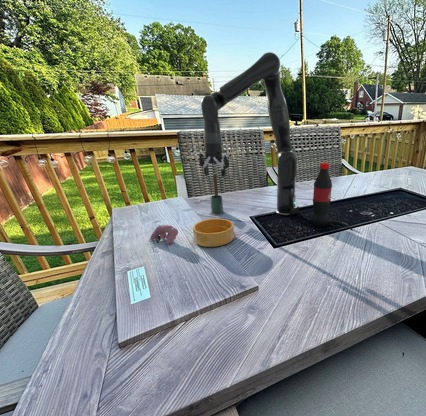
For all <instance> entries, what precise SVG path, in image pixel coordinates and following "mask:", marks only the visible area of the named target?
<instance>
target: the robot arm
mask: <svg viewBox="0 0 426 416" xmlns="http://www.w3.org/2000/svg"><path fill="white" fill-rule="evenodd" d="M280 69H281V60H280V57H279V56H278V55H277V54H276V53H274V52H272V51H268V52H264V53H263V54H262V55H261V56H260V57H259V58H258V60H256V62H254V64H252V65H251V66H249V67H248V68H247V69H246V70H244V71H243V72H241V73H240V74H238V75H237V76H235V77H234V78H231V80H229V81H227V82H225V83H224V84H222V85H221V86H220V87H219V88H218V90H216V91H214V92H213V93H212V94H210V95H209V94H206V95H204V96H203V97H202V99H201V100H200V101H201V102H200V107H201V114H202V119H203V141H204V142H203V143H204V152H205V153H204V152H202V153H201V152H200V153H199V154H198V157H199V159H198V160H199V166H200V167H202V168H203V174H204V175H205V176H209V175H210V170H209V165H210V164H213V165H218V166H219V168H220V176H221V178H225V176H226V175H227V173H226V172H227V169H229V168H230V159H229V155H228V154H225V155H223V153H222V152H223V147H222V146H223V145H222V134H221V122H220V120H219V111H220V110H221V109H222V108H223V107H225V106H226V105H227V104H229V103H230V102H233V101H234V100H235V99H237V98H238V97H239V96H241V95H242V94H244V93H245V92H247V90H249V89H250V88H251V87H252V86H254V85H255V84H256V83H258V82H260V81H263V85H264V87H265V88H264V89H265V95H266V106H267V114H268V117H269V122H270V127H271V130H272V133H273V135H274V139H275V144H276V152H277V154H276V155H277V179H276V181H277V182H276V183H277V187H276V188H277V189H276V190H277V191H276V214H277V215H281V216H294V215H295V214H297V213H299V214H300V215H301V217H302V218H303V219H306V220H308V221H311V222H312V218H308V217H307V216H305V215H304V214H303V212H302V211H300V206H299V205H296V201H297V199H296V197H297V195H296V178H297V167H298V166H297V165H298V158H297V156H296V154H295V152H294V149H293V145H292V142H291V125H290V116H289V110H288V106H287V102H286V98H285V96H284V93H283V90H282V86H281V85H282V84H281V76H280ZM205 159H206V160H205ZM337 221H338V220H329V222H328V223H333V224H335V223H336V224H341V225H345V224H346V225H345V226H347V225H348V226H350V225H349V224H348V223H347V222H343V221H338V222H337ZM340 222H342V223H344V224H342V223H340ZM348 226H347V227H348ZM350 227H351V226H350ZM350 227H348V229H350V231H352V232H353V231H354V229H353V228H352V227H351V228H350Z"/></svg>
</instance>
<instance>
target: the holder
mask: <svg viewBox="0 0 426 416" xmlns="http://www.w3.org/2000/svg"><path fill="white" fill-rule="evenodd" d="M209 197H210V210H211V214H213V215H220V214H223V213H224V203H223V196H222V195H220V194H218V198H215V194H214V195H211V196H209Z"/></svg>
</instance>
